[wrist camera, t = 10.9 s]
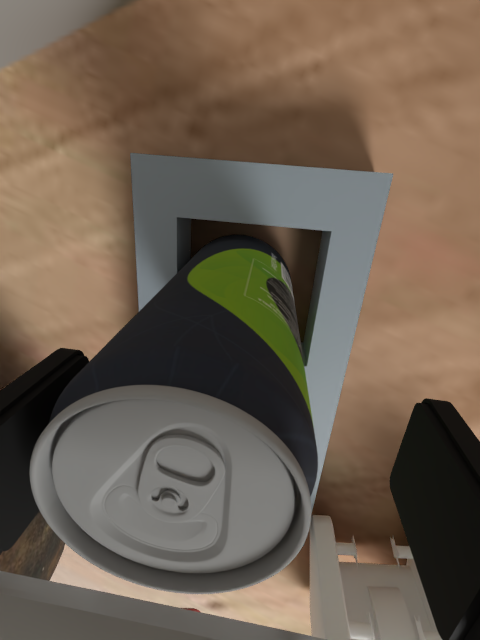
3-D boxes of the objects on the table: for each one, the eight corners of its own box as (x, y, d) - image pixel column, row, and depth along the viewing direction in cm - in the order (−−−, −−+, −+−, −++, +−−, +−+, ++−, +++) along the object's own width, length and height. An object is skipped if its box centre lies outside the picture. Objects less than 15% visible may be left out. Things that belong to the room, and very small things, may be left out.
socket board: (375, 174, 17) (393, 173, 15) (301, 509, 28) (303, 545, 25) (152, 156, 18) (130, 153, 15) (162, 489, 29) (150, 522, 26)
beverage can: (208, 215, 19) (32, 323, 5) (308, 256, 19) (392, 460, 6) (177, 308, 21) (3, 547, 8) (266, 343, 22) (251, 630, 8)
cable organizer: (307, 489, 27) (326, 691, 16) (446, 493, 26) (563, 717, 15) (308, 597, 33) (322, 797, 22) (420, 605, 32) (492, 823, 21)
